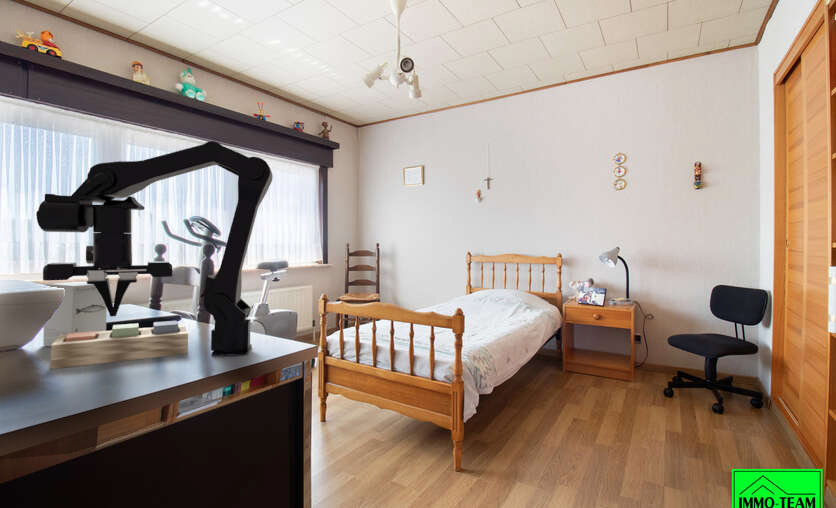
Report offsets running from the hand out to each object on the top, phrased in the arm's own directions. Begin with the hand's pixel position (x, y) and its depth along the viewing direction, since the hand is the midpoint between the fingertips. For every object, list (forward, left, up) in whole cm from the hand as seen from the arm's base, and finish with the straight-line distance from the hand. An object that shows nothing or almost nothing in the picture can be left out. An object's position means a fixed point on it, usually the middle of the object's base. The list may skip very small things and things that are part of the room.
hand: (113, 316), depth 75 cm
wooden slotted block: (-2, -1, -8) cm, 8 cm away
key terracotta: (+4, +1, -5) cm, 7 cm away
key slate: (-8, -3, -5) cm, 10 cm away
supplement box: (+11, -11, -8) cm, 18 cm away
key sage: (-2, -1, -5) cm, 5 cm away
